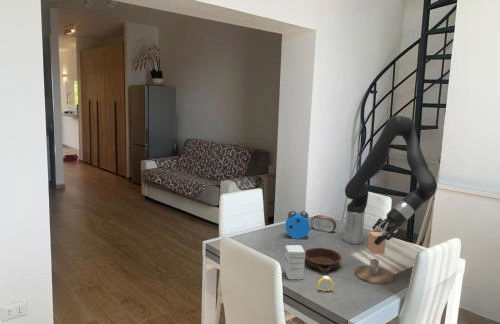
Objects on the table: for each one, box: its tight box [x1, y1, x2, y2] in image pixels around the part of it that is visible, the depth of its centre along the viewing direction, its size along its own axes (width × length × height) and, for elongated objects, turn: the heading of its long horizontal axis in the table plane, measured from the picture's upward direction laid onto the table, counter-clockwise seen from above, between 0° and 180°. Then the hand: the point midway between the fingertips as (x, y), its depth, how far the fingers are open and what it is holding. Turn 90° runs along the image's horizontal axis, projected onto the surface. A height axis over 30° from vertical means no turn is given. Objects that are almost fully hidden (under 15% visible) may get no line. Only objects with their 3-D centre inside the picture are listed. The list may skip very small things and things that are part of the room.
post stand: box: [354, 258, 394, 285], centre depth 165 cm, size 16×16×7 cm
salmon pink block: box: [367, 230, 386, 255], centre depth 163 cm, size 5×5×8 cm
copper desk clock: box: [310, 215, 337, 233], centre depth 221 cm, size 15×3×8 cm, turn 58°
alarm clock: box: [285, 210, 311, 240], centre depth 209 cm, size 13×6×15 cm, turn 86°
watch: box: [317, 275, 334, 291], centre depth 151 cm, size 6×3×6 cm, turn 89°
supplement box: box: [283, 244, 306, 279], centre depth 163 cm, size 7×7×13 cm
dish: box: [304, 247, 343, 274], centre depth 175 cm, size 18×22×5 cm
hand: (372, 241), depth 163 cm, fingers closed on salmon pink block, 5 cm apart
